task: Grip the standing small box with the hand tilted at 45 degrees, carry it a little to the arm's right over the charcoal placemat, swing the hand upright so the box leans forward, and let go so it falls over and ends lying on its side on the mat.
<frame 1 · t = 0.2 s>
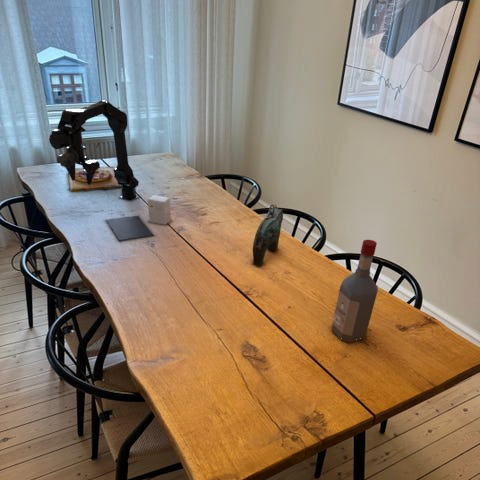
hand: (81, 182, 191), 15 cm above the table, tool pointing down, fingers open, 9 cm apart
placemat: (129, 228, 190), on the table
liquor: (348, 333, 136), on the table
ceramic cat: (266, 256, 176), on the table
small box: (160, 221, 198), on the table
pizza: (94, 180, 239), on the table
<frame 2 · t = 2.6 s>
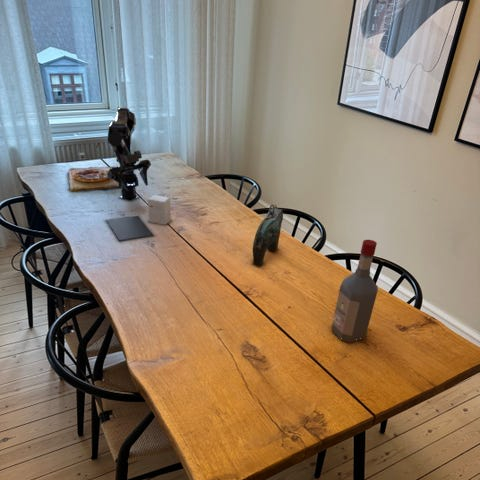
hand: (137, 188, 192), 14 cm above the table, tool tilted 40°, fingers open, 9 cm apart
nothing on the table moved.
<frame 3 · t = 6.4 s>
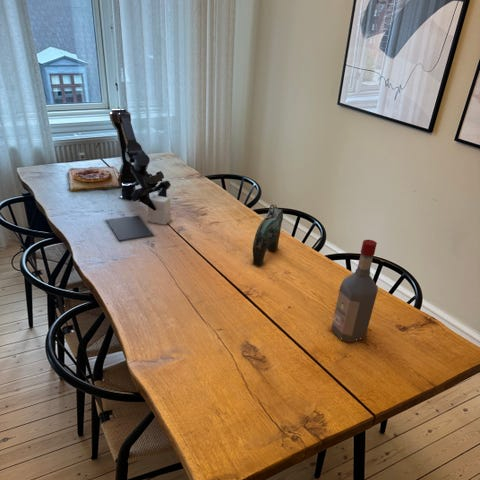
hand: (161, 207, 193), 7 cm above the table, tool tilted 45°, fingers closed on small box, 7 cm apart
small box: (160, 221, 198), on the table, touching gripper
everything else where it was.
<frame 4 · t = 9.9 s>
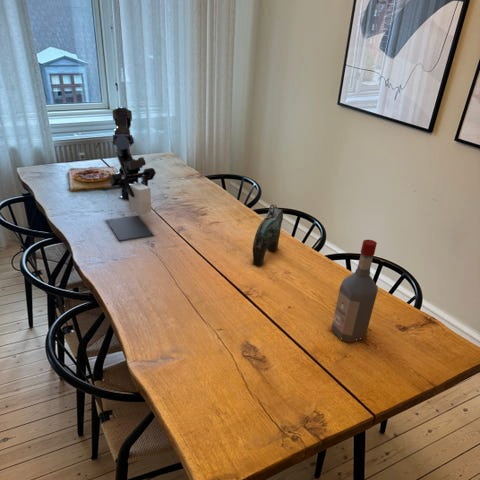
hand: (140, 195, 186), 13 cm above the table, tool tilted 45°, fingers closed on small box, 6 cm apart
small box: (140, 211, 190), point 6 cm above the table, touching gripper
everything else where it was.
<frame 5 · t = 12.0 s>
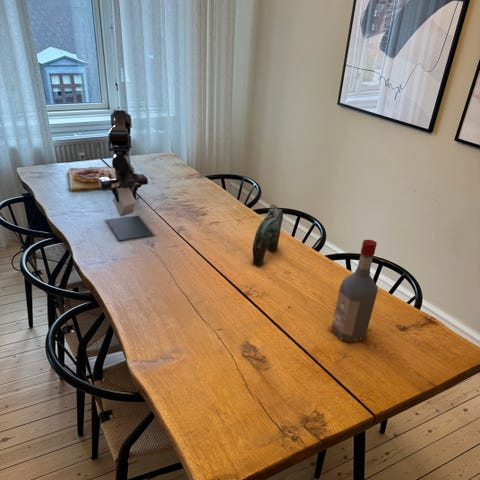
hand: (125, 201, 186), 11 cm above the table, tool pointing down, fingers closed on small box, 6 cm apart
small box: (122, 207, 193), point 6 cm above the table, touching gripper
everything else where it was.
when the fingers open (8 cm above the table, at t = 13.6 s): small box moves 3 cm, resting on placemat.
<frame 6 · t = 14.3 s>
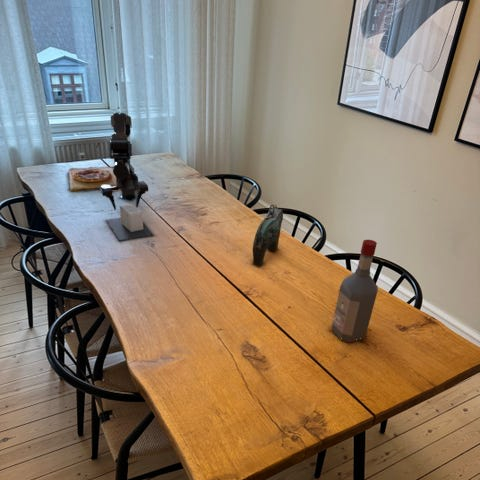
hand: (126, 208, 188), 8 cm above the table, tool pointing down, fingers open, 9 cm apart
small box: (126, 213, 192), point 4 cm above the table, touching placemat
everything else where it was.
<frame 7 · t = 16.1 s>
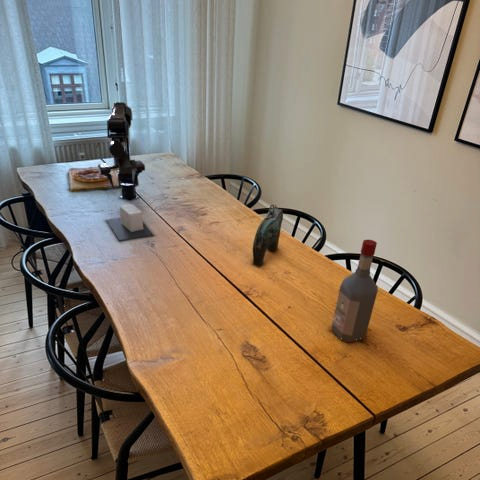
hand: (123, 187, 195), 13 cm above the table, tool pointing down, fingers open, 9 cm apart
nothing on the table moved.
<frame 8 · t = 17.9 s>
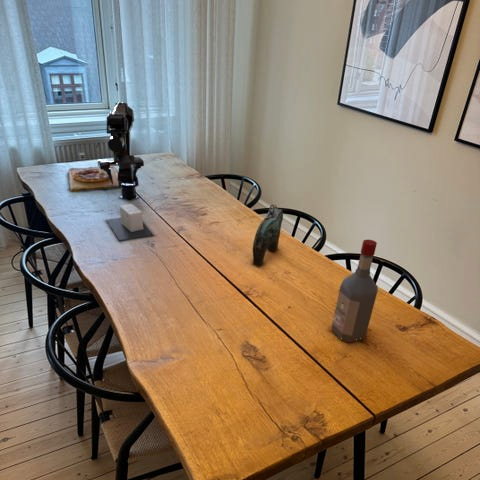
hand: (122, 182, 198), 13 cm above the table, tool pointing down, fingers open, 9 cm apart
nothing on the table moved.
at the end: small box tilted 91°; small box inside the target area on the placemat (4.5 cm from its centre), point 4.4 cm above the placemat's base; small box touching placemat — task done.
